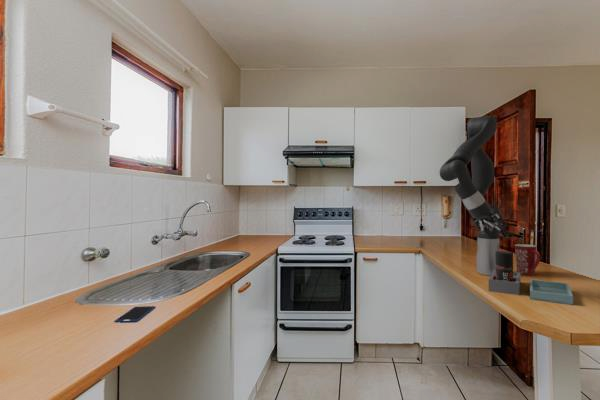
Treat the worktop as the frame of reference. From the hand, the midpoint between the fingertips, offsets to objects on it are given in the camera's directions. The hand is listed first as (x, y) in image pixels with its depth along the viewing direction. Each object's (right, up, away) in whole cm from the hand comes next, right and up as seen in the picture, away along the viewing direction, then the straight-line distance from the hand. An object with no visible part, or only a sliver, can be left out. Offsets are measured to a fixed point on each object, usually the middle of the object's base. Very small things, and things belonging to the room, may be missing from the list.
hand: (498, 236), depth 132 cm
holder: (+4, -21, +2) cm, 21 cm away
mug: (+28, -21, +23) cm, 42 cm away
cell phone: (-134, -23, -27) cm, 139 cm away
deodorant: (0, -21, -3) cm, 21 cm away
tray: (+13, -21, -10) cm, 26 cm away
